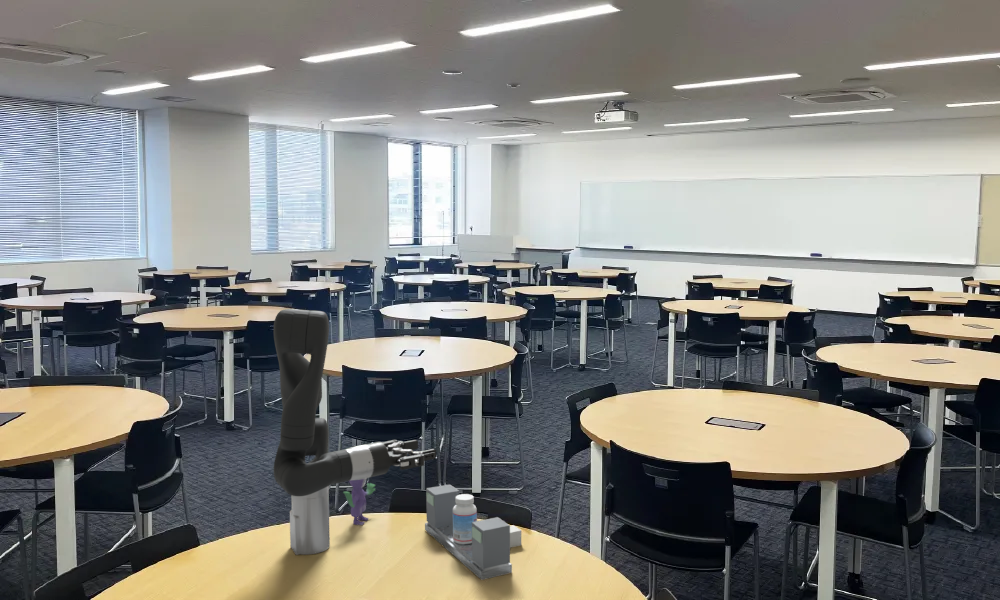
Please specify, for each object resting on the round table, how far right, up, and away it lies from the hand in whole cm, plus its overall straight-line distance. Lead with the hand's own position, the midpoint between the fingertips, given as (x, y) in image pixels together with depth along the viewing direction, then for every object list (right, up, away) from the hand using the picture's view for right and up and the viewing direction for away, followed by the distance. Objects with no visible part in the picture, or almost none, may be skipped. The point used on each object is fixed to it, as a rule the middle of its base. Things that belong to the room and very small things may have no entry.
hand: (426, 448), depth 178 cm
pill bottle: (+9, -25, +9) cm, 28 cm away
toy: (-22, -26, +28) cm, 44 cm away
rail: (+9, -27, +9) cm, 30 cm away
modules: (+9, -25, +9) cm, 28 cm away
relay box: (+20, -27, +12) cm, 36 cm away
